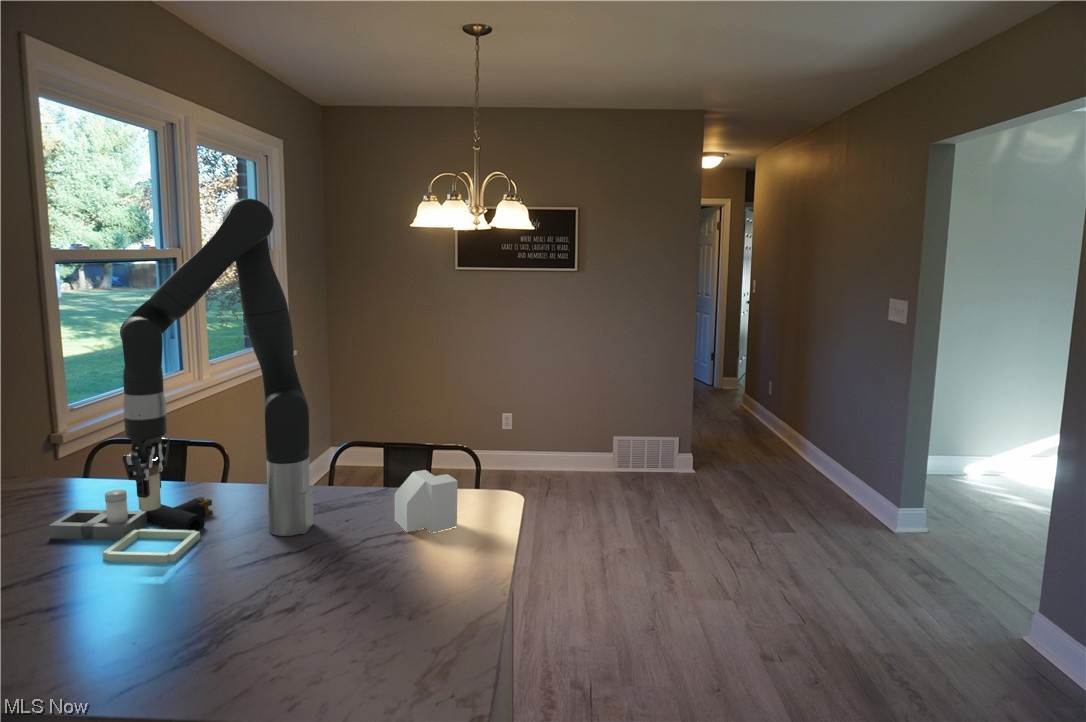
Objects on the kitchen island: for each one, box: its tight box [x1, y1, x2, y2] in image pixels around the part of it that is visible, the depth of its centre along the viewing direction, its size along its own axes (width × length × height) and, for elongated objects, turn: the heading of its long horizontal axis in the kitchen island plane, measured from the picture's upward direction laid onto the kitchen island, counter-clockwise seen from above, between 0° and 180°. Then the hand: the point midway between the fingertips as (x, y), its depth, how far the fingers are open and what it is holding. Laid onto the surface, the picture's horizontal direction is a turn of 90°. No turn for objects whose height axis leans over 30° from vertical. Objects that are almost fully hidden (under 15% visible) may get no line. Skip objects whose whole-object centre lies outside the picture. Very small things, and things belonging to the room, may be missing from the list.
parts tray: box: [102, 528, 201, 566], centre depth 146 cm, size 14×12×2 cm
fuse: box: [104, 489, 129, 524], centre depth 153 cm, size 4×4×9 cm
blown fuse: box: [137, 463, 162, 511], centre depth 144 cm, size 4×4×9 cm
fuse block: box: [48, 508, 149, 541], centre depth 153 cm, size 16×9×4 cm, turn 91°
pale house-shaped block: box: [394, 469, 459, 534], centre depth 164 cm, size 11×11×12 cm
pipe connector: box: [147, 496, 214, 531], centre depth 161 cm, size 12×5×15 cm
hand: (149, 492), depth 144 cm, fingers closed on blown fuse, 4 cm apart
